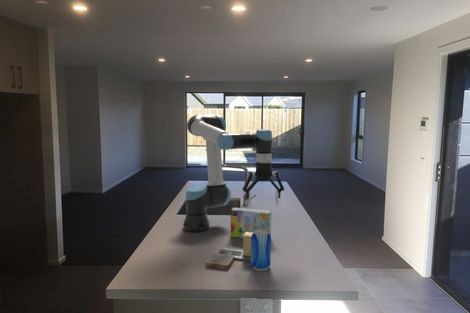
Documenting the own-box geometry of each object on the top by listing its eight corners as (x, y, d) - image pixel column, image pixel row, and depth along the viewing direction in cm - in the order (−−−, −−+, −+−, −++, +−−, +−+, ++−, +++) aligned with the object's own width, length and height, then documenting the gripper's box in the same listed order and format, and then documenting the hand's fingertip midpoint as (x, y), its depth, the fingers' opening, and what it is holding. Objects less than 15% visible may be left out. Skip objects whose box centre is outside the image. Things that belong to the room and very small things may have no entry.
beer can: (249, 263, 156) (250, 228, 154) (268, 262, 157) (269, 228, 154) (252, 272, 148) (252, 235, 145) (271, 271, 148) (272, 235, 146)
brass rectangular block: (243, 258, 161) (243, 235, 159) (245, 254, 166) (245, 231, 164) (253, 259, 159) (254, 236, 158) (255, 255, 164) (256, 232, 163)
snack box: (271, 238, 187) (271, 210, 185) (268, 241, 181) (269, 213, 179) (233, 233, 193) (233, 206, 191) (229, 236, 188) (230, 209, 186)
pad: (205, 266, 152) (205, 262, 152) (213, 257, 162) (213, 253, 161) (228, 269, 150) (228, 264, 149) (234, 259, 159) (234, 255, 159)
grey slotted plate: (216, 257, 162) (216, 255, 162) (222, 249, 170) (222, 247, 170) (260, 262, 157) (260, 260, 157) (264, 254, 165) (264, 252, 165)
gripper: (238, 163, 163) (238, 207, 166) (291, 162, 166) (290, 206, 169) (236, 161, 171) (236, 203, 173) (287, 160, 174) (286, 202, 176)
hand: (263, 205), depth 171 cm, fingers open, 13 cm apart
